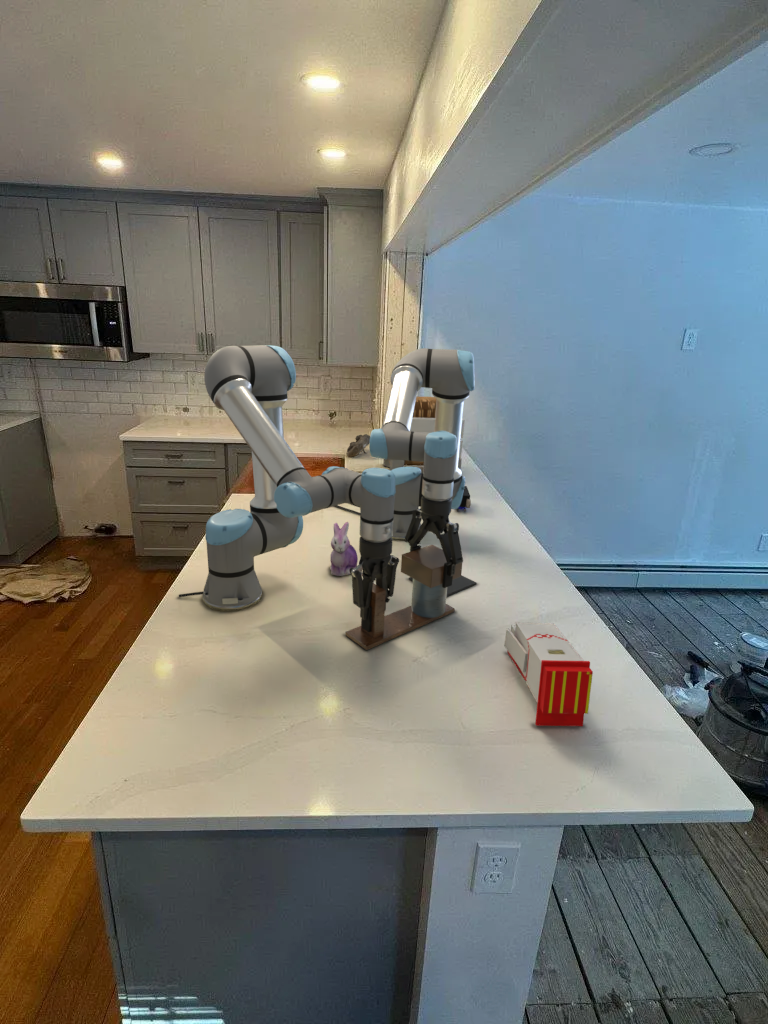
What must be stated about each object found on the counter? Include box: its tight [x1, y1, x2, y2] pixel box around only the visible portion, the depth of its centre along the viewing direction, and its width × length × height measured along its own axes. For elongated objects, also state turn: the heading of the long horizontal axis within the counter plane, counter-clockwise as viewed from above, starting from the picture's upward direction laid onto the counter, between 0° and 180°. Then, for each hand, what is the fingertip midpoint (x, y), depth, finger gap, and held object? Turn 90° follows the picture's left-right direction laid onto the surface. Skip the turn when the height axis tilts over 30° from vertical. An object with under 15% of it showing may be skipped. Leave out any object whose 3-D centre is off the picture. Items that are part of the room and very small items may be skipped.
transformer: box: [383, 395, 465, 471], centre depth 268 cm, size 34×33×41 cm
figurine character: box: [456, 485, 472, 513], centre depth 228 cm, size 7×8×15 cm
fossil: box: [346, 433, 371, 458], centre depth 305 cm, size 22×10×15 cm
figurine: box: [329, 521, 359, 577], centre depth 168 cm, size 9×10×15 cm
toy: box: [503, 622, 594, 727], centre depth 121 cm, size 12×13×30 cm
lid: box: [400, 544, 463, 588], centre depth 144 cm, size 11×11×5 cm
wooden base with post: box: [345, 579, 455, 651], centre depth 141 cm, size 30×9×13 cm, turn 131°
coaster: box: [408, 574, 477, 598], centre depth 166 cm, size 14×14×1 cm
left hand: (372, 626), depth 136 cm, fingers closed on wooden base with post, 3 cm apart
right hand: (430, 577), depth 146 cm, fingers closed on lid, 11 cm apart
